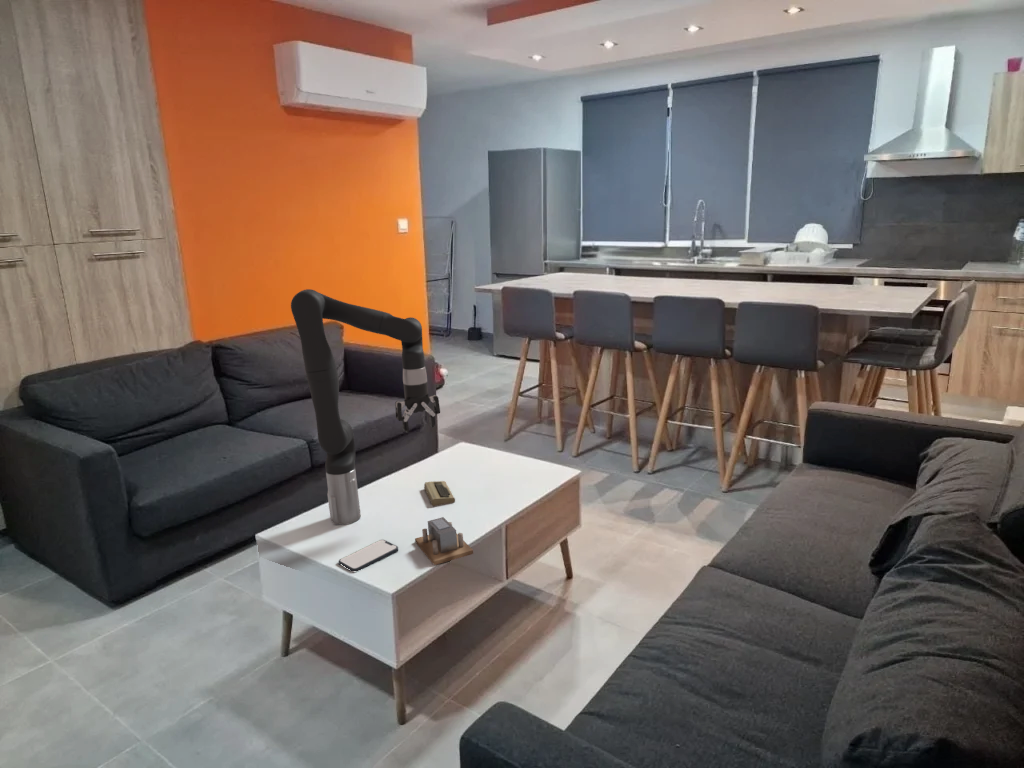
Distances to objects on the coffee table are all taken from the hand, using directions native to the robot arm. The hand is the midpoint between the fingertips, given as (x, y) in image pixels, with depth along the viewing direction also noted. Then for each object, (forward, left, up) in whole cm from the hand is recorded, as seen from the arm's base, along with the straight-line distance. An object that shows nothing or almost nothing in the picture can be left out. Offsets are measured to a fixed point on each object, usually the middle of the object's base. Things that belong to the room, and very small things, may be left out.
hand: (419, 429), depth 216 cm
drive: (-5, -28, -27) cm, 39 cm away
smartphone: (-26, -21, -29) cm, 44 cm away
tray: (-5, -28, -28) cm, 40 cm away
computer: (+8, +8, -29) cm, 31 cm away
